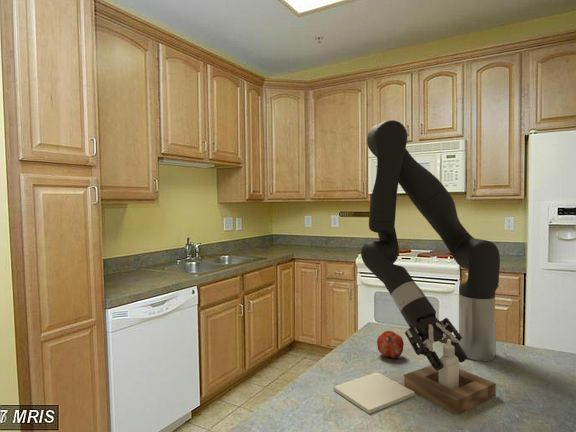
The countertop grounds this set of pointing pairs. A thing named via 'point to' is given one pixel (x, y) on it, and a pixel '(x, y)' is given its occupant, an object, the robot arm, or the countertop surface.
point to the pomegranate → (390, 344)
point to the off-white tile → (373, 392)
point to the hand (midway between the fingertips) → (452, 364)
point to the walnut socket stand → (457, 400)
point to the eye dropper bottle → (449, 367)
